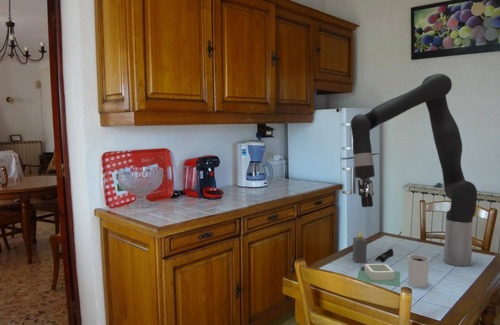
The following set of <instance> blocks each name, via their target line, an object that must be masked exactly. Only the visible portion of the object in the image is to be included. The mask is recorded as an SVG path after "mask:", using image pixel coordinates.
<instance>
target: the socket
mask: <svg viewBox="0 0 500 325" xmlns="http://www.w3.org/2000/svg"><path fill="white" fill-rule="evenodd" d="M364 266H365V270H364V273H365V274H366V275H367V276H368V277H369V278H370V279H371V280H374V281H391V280H394V271H395V270H393V268H391V267H390V266H389V265H388V264H386V263H366V264H365V263H364Z"/></svg>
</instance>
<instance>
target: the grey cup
mask: <svg viewBox="0 0 500 325" xmlns="http://www.w3.org/2000/svg"><path fill="white" fill-rule="evenodd" d="M407 260H408V261H407V262H408V263H407V264H408V266H407V267H408V270H407V271H408V272H407V273H408V277H407V278H408V284H409V285H410V286H413V287H415V288H426V287H428V279H429V273H430V272H429V271H430V260H431V259H430V258H429V257H427V256H425V255H421V254H410V255H408V258H407Z"/></svg>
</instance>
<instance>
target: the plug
mask: <svg viewBox="0 0 500 325" xmlns="http://www.w3.org/2000/svg"><path fill="white" fill-rule="evenodd" d="M357 235H358V236H357V237H355V236H354V237H352V239H353V242H352V261H354V263H355V264H365V263H366V264H367V248H368V247H367V242H368V240H367V239H366V238H365V237H363V232H358V234H357Z"/></svg>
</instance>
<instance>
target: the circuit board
mask: <svg viewBox="0 0 500 325" xmlns="http://www.w3.org/2000/svg"><path fill="white" fill-rule="evenodd" d="M364 270H365V265H362V266H360V267H359V270H358V273H357V274H358V275H357V277H356V280H357V279H360V280H363V281H366V282H365V283H371V284H375V285H376V284H378V285H384V286H391V287H398V288H400V287H401V271H395V270H393V271H394V280H391V281H374V280H371V279H370V278H369V277H368V276H367V275H366V274H365V273H364ZM363 281H362V282H363Z"/></svg>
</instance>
